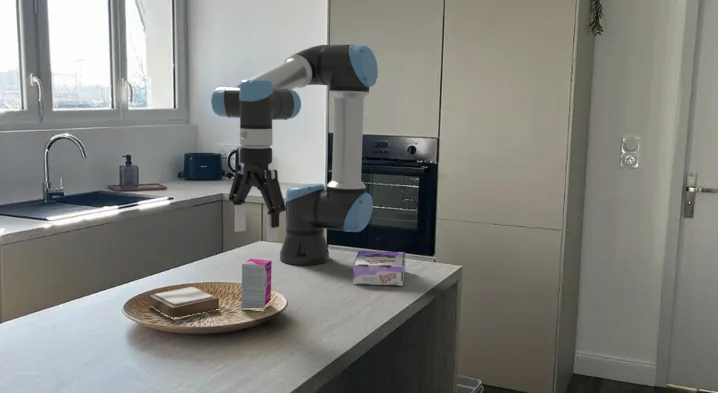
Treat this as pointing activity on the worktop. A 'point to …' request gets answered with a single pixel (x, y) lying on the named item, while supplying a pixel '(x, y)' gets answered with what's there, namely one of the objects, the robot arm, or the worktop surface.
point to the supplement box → (256, 283)
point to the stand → (184, 302)
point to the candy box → (379, 268)
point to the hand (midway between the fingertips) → (256, 235)
